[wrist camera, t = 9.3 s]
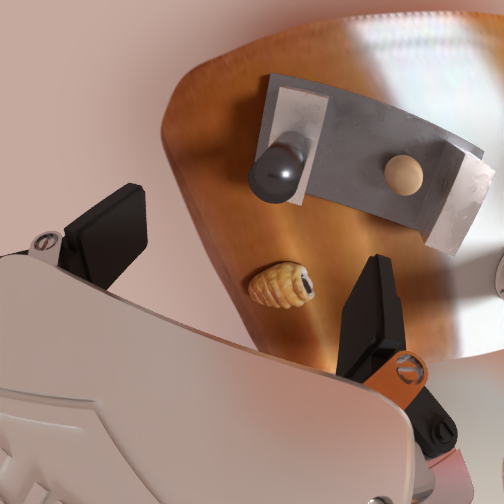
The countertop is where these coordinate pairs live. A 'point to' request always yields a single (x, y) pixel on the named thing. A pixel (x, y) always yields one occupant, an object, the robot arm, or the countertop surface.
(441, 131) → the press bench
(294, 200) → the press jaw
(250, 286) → the pastry
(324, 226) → the countertop surface
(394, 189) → the tan wooden ball
